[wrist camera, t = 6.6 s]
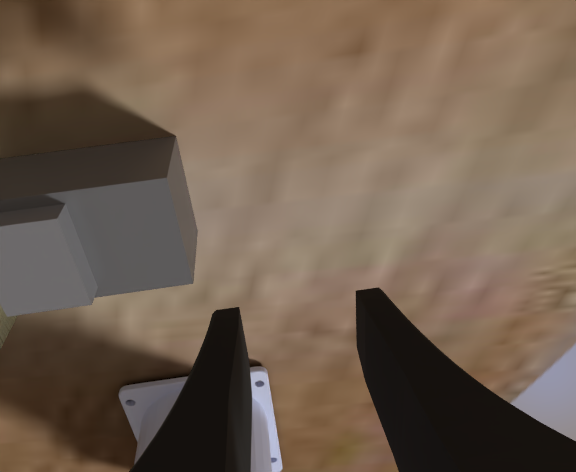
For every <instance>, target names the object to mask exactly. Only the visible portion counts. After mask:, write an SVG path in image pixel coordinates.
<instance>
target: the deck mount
mask: <svg viewBox="0 0 576 472" xmlns="http://www.w3.org/2000/svg"><path fill="white" fill-rule="evenodd" d="M17 316H18V315H16V316H9V317H7V316H6V314H5V312H4V310H3V309H2V307H1V305H0V349H1V347H2V345H3V343H4V341H5V339H6V337H7V335H8V333H9V331H10V330H11V328H12V326H13V324H14V322H15V320H16V318H17Z"/></svg>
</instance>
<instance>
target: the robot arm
mask: <svg viewBox="0 0 576 472" xmlns="http://www.w3.org/2000/svg"><path fill="white" fill-rule="evenodd" d="M356 331H357V350H358V354H359V358H360V362H361V366H362V370H363V374H364V378H365V381H366V384H367V387H368V390H369V392H370V395H371V398H372V400H373V403H374V406H375V408H376V411H377V414H378V416H379V419H380V421H381V424H382V427H383V429H384V432H385V435H386V437H387V440H388V442H389V445H390V448H391V450H392V453H393V456H394V458H395V461H396V464H397V467H398V470H399V472H576V441H574V440H572V439H570V438H568V437H566V436H564V435H563V434H561V433H559V432H557V431H555V430H553V429H551V428H550V427H548V426H546V425H544V424H542V423H541V422H539V421H537V420H536V419H534V418H532V417H531V416H529V415H527V414H526V413H524V412H523V411H521V410H519V409H518V408H516V407H515V406H513V405H511V404H510V403H508V402H507V401H505V400H503V399H502V398H500V397H499V396H498V395H496V394H495V393H493V392H492V391H490V390H489V389H487V388H486V387H485V386H483V385H482V384H481V383H479V382H478V381H477V380H475V379H474V378H473V377H471V376H470V375H469V374H468V373H466V372H465V371H464V370H463V369H461V368H460V367H459V366H458V365H456V364H455V363H454V362H453V361H452V360H451V359H449V358H448V357H447V356H446V355H445V354H444V353H443V352H441V351H440V350H439V349H438V348H437V347H436V346H435V345H434V344H433V343H432V342H431V341H430V340H428V339H427V338H426V337H425V336H424V335H423V334H422V333H421V332H420V331H419V330H418V329H417V328H416V327H415V326H414V325H413V324H412V323H411V322H410V321H409V320H408V319H407V318H406V316H405V315H404V314H403V313H402V312H401V311H400V310H399V309H398V308H397V307H396V306H395V305H394V303H393V302H392V301H391V300H390V299H389V298H388V297H387V295H386V294H385V293H384V292H383V291H382V290H381V289H380V288H372V289H365V290H358V291H356ZM258 381H260V382H258ZM119 399H120V401H121V404H122V406H123V409H124V411H125V414H126V416H127V418H128V421H129V423H130V426H131V428H132V431H133V433H134V435H135V438H136V440H137V443H138V445H137V451H136V457H135V463H134V466H133V468H132V469H131V470H130V471H129V472H280V471H281V470H282V460H281V454H280V448H279V441H278V435H277V429H276V423H275V417H274V410H273V404H272V398H271V392H270V385H269V379H268V373H267V370H266V369H265V368H264V367H261V366H256V367H250V364H249V358H248V352H247V347H246V342H245V336H244V331H243V326H242V320H241V315H240V309H239V307H236V308H229V309H222V310H216V311H215V312H214V313H213V314H212V317H211V321H210V325H209V328H208V331H207V334H206V336H205V339H204V342H203V344H202V347H201V349H200V352H199V354H198V356H197V359H196V361H195V363H194V365H193V368H192V370H191V372H190V374H189V376H187V377H180V378H173V379H166V380H159V381H152V382H145V383H139V384H132V385H126V386H123V387H122V388H121V389H120V391H119Z"/></svg>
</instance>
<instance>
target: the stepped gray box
mask: <svg viewBox="0 0 576 472" xmlns="http://www.w3.org/2000/svg"><path fill="white" fill-rule="evenodd" d="M197 232H198V230H197V226H196V222H195V217H194V213H193V208H192V204H191V200H190V195H189V191H188V187H187V182H186V178H185V173H184V169H183V165H182V160H181V156H180V151H179V147H178V143H177V138H176V136H172V137H164V138H156V139H149V140H141V141H133V142H125V143H118V144H110V145H102V146H94V147H87V148H79V149H71V150H63V151H56V152H48V153H40V154H32V155H25V156H17V157H9V158H1V159H0V305H1V307H2V309H3V310H4V312H5V314H6V316H7V317H9V316H16V315H23V314H30V313H37V312H44V311H51V310H58V309H65V308H72V307H79V306H86V305H92V303H93V300H94V298H95V297H102V296H109V295H116V294H123V293H130V292H137V291H144V290H151V289H158V288H165V287H172V286H179V285H186V284H193V281H194V269H195V257H196V245H197Z"/></svg>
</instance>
